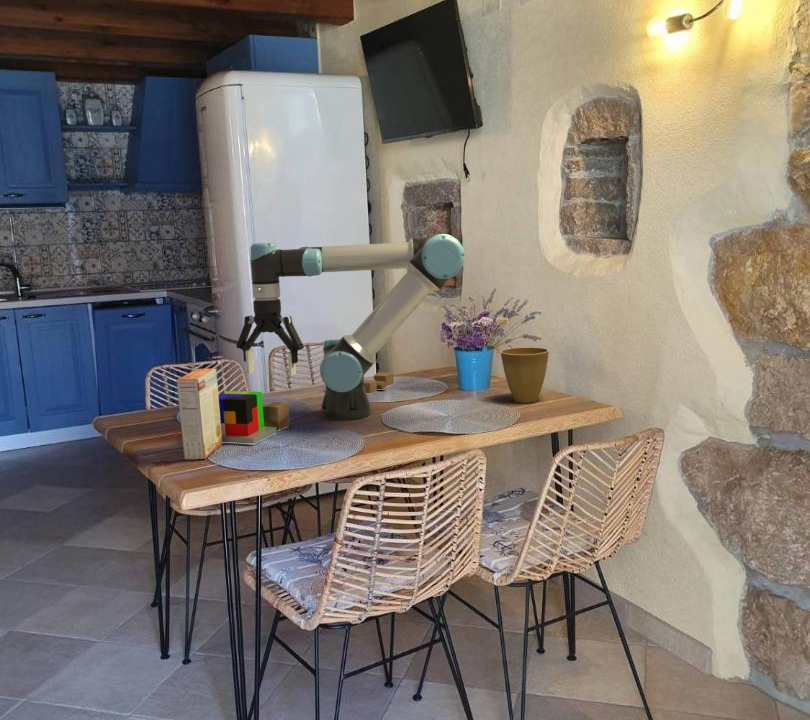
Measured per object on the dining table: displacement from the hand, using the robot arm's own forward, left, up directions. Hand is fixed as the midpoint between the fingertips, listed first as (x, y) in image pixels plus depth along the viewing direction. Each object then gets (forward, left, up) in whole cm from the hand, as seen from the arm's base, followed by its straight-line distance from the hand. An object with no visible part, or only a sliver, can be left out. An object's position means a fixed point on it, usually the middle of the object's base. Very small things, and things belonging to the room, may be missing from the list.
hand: (271, 374), depth 230 cm
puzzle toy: (+4, +12, -14) cm, 19 cm away
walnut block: (0, 0, -16) cm, 16 cm away
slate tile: (+4, +12, -16) cm, 20 cm away
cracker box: (+5, +27, -16) cm, 32 cm away
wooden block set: (-2, -56, -16) cm, 58 cm away
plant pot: (-61, -50, -16) cm, 81 cm away
